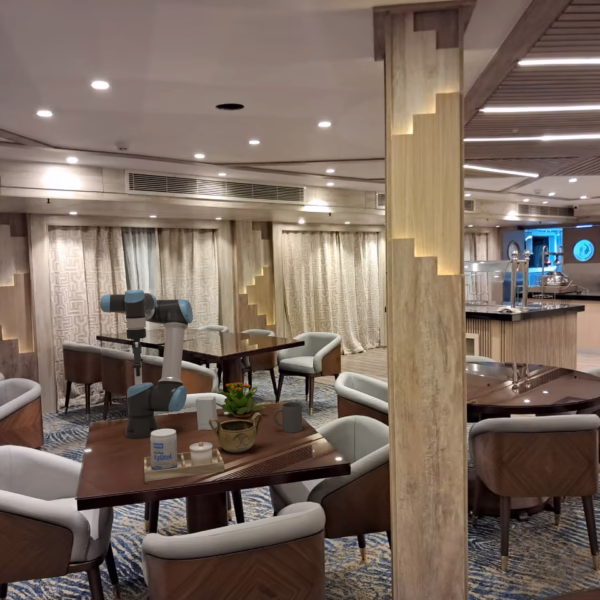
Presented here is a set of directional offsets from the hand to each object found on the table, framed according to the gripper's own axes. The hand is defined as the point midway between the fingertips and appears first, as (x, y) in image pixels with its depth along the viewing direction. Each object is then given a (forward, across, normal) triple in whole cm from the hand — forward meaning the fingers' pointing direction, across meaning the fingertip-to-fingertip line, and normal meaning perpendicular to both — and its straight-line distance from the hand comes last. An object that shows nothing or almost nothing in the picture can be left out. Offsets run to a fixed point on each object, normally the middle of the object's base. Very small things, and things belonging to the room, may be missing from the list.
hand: (138, 380), depth 222 cm
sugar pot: (+31, +20, +22) cm, 43 cm away
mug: (+32, -14, +65) cm, 74 cm away
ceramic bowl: (+32, +5, +38) cm, 50 cm away
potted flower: (+32, -48, +50) cm, 76 cm away
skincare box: (+32, -32, +30) cm, 54 cm away
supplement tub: (+31, +20, +8) cm, 38 cm away
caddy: (+32, +20, +15) cm, 40 cm away
